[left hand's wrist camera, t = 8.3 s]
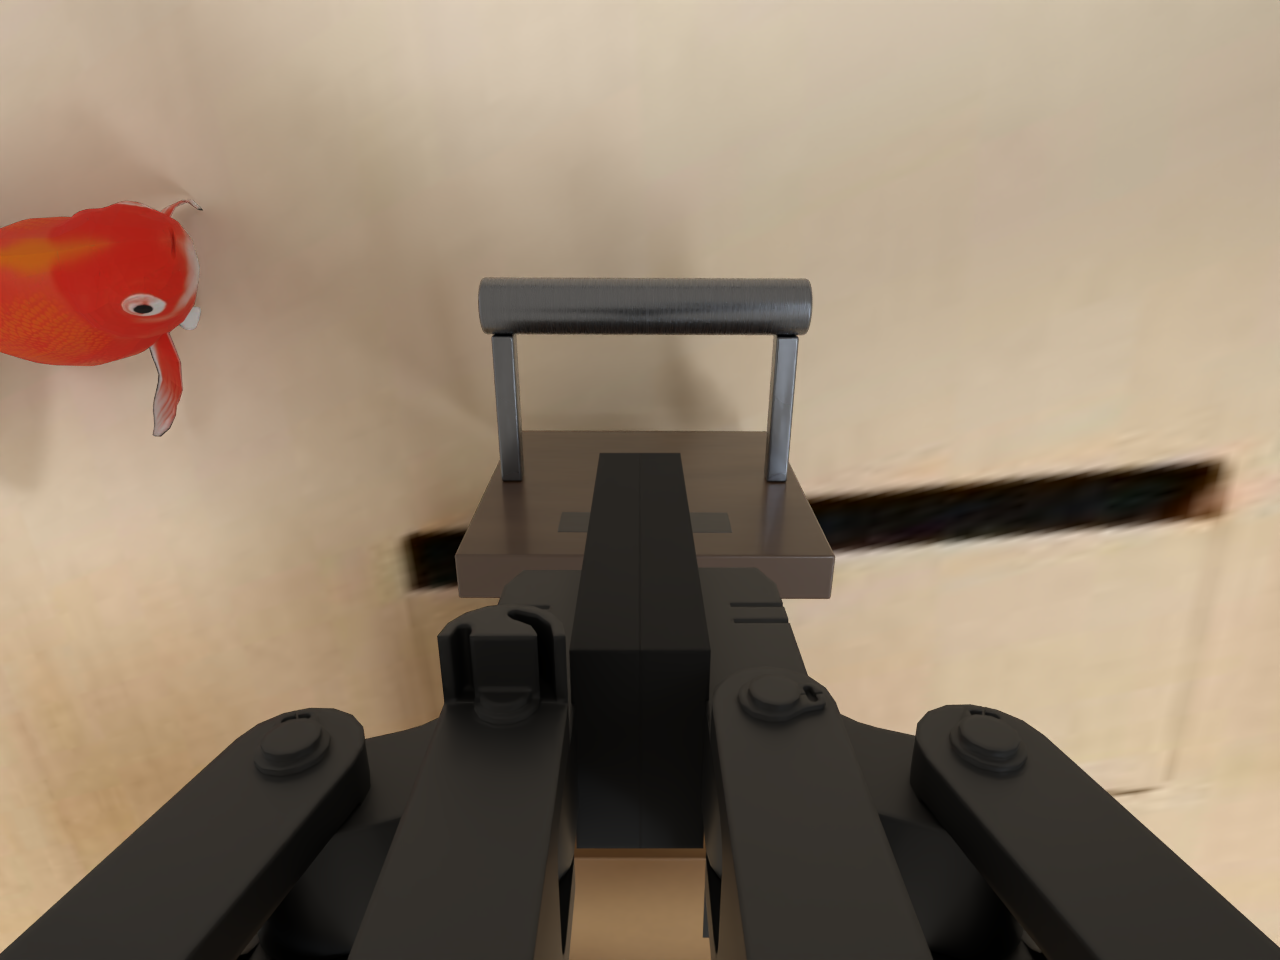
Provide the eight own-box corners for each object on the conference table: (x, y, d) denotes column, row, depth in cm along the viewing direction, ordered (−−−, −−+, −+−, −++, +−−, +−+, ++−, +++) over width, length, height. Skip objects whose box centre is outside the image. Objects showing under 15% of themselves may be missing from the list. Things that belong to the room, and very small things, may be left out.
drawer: (502, 258, 24) (429, 310, 16) (787, 259, 24) (864, 311, 16) (538, 836, 34) (505, 1059, 25) (743, 836, 34) (778, 1059, 25)
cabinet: (514, 625, 31) (452, 858, 21) (770, 625, 31) (834, 859, 21) (538, 967, 39) (502, 1260, 28) (742, 967, 39) (779, 1260, 28)
